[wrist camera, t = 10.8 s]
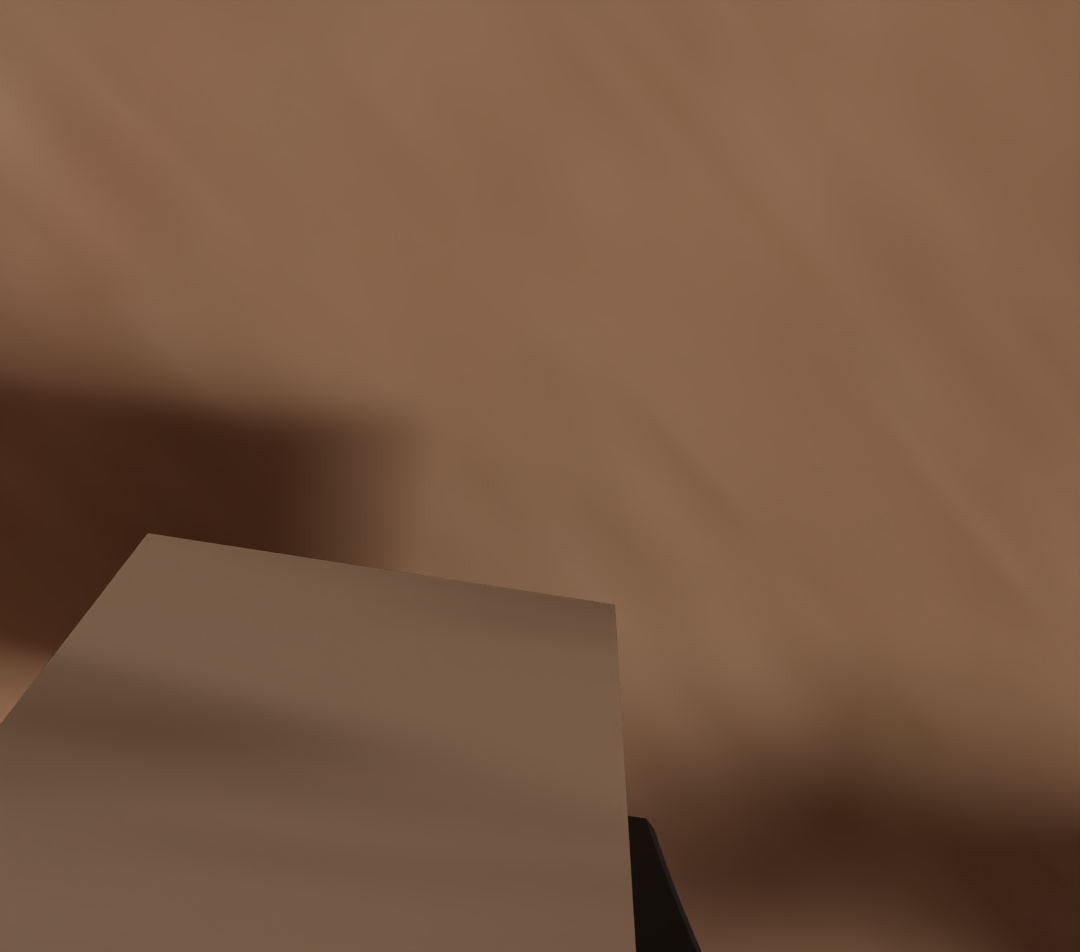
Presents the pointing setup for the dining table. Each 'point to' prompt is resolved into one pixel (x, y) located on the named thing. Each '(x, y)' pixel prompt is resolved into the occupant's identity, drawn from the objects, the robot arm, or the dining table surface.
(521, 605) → the beech cube
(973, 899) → the dining table surface
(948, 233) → the dining table surface
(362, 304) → the dining table surface
